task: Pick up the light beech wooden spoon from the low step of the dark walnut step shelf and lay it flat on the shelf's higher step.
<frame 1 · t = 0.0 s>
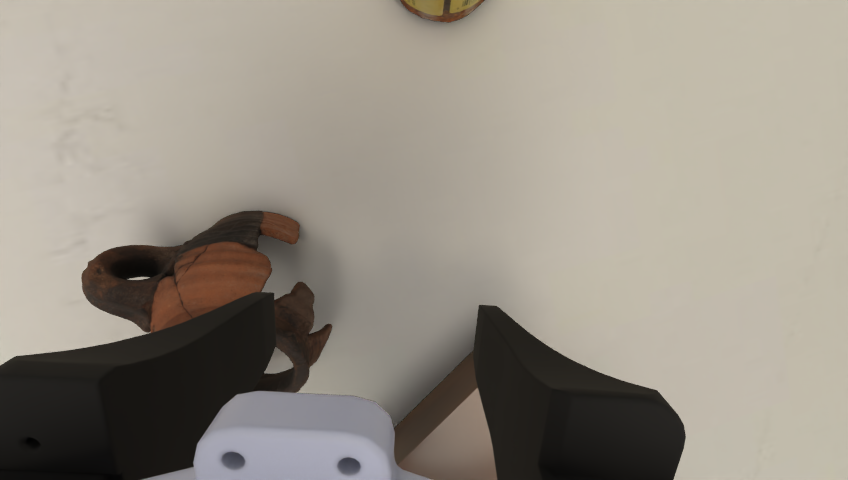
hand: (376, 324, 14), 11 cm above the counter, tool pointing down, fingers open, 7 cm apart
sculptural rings: (246, 285, 25), on the counter
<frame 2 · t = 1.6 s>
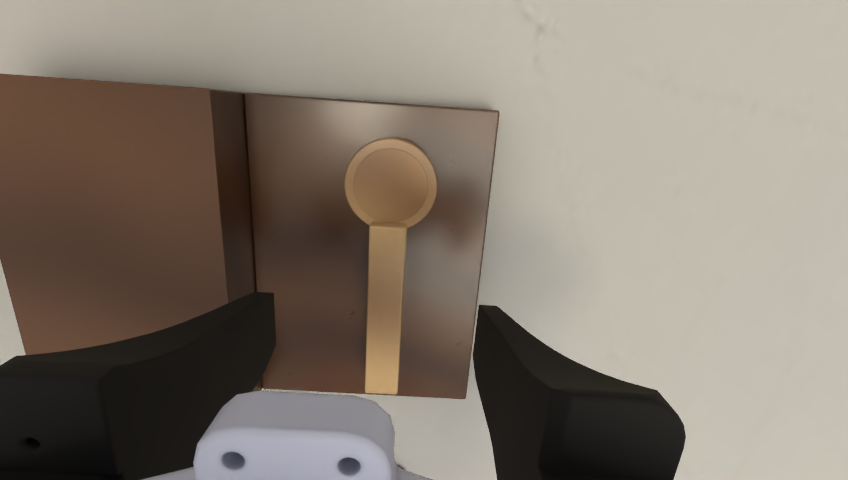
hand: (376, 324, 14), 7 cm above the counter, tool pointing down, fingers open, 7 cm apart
spoon: (388, 275, 20), point 1 cm above the counter, touching step shelf
step shelf: (282, 251, 20), on the counter
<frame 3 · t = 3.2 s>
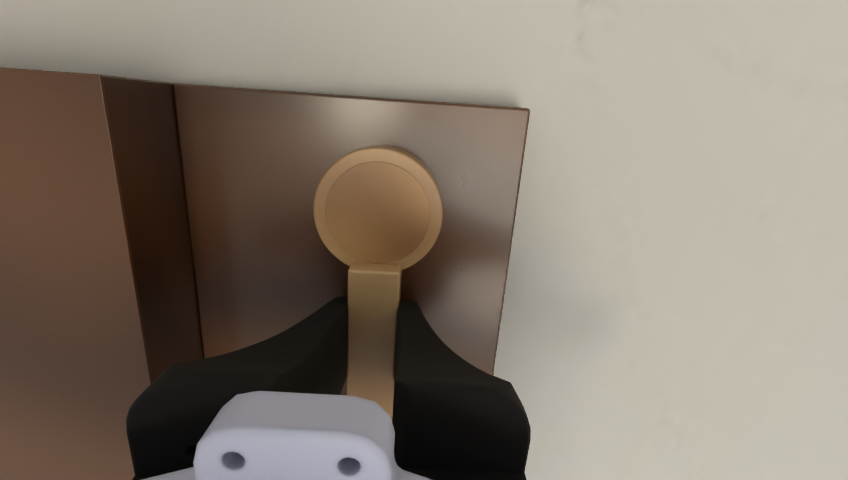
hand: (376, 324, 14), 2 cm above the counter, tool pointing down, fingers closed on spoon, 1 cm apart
spoon: (377, 328, 15), point 1 cm above the counter, touching gripper, step shelf
step shelf: (239, 293, 16), on the counter
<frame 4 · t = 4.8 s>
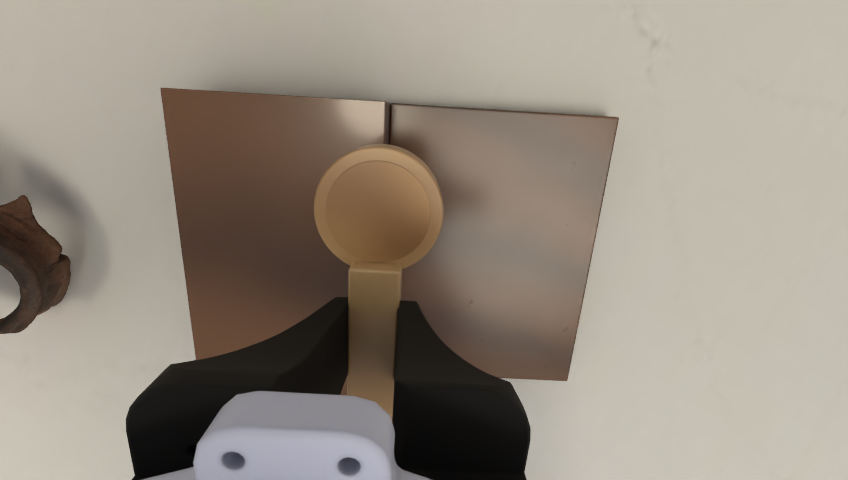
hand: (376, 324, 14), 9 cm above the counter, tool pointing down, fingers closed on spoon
spoon: (377, 327, 15), point 8 cm above the counter, touching gripper
step shelf: (405, 246, 22), on the counter
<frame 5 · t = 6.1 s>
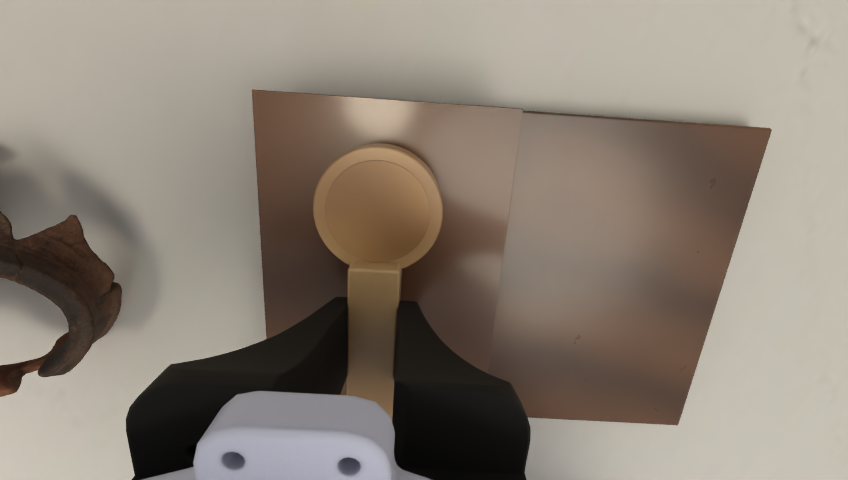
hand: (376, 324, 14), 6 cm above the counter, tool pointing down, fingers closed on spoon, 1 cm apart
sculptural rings: (25, 251, 19), on the counter
spoon: (377, 327, 15), point 5 cm above the counter, touching gripper
step shelf: (501, 272, 20), on the counter
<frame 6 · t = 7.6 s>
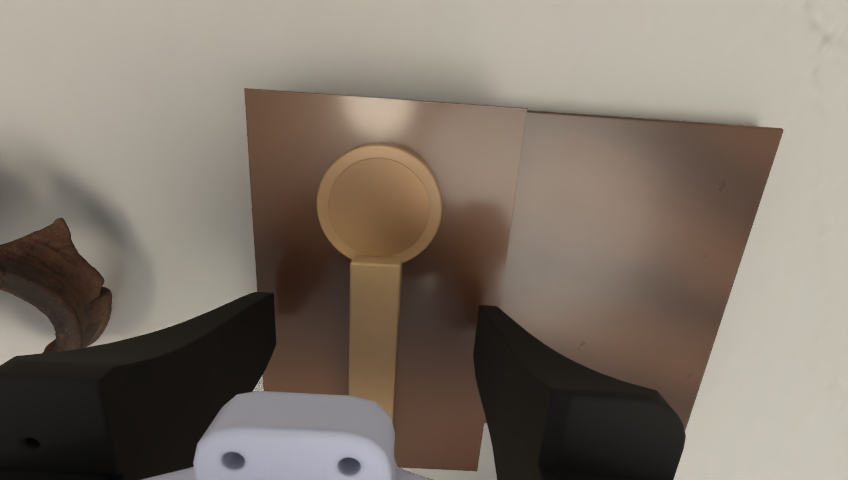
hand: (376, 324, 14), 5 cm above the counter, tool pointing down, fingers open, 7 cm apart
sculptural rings: (13, 255, 19), on the counter
spoon: (378, 320, 15), point 4 cm above the counter, touching step shelf
step shelf: (504, 276, 19), on the counter
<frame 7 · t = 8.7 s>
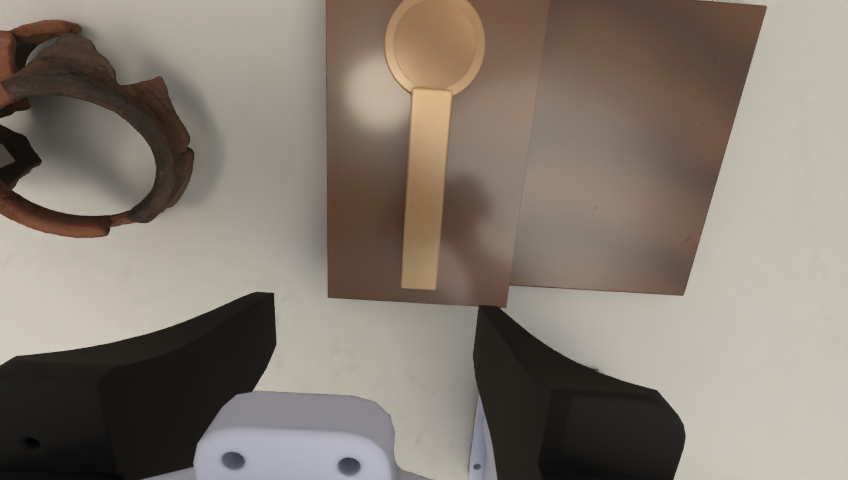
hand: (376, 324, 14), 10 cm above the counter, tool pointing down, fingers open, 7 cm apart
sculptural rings: (103, 131, 22), on the counter
spoon: (426, 161, 18), point 4 cm above the counter, touching step shelf
step shelf: (527, 151, 22), on the counter
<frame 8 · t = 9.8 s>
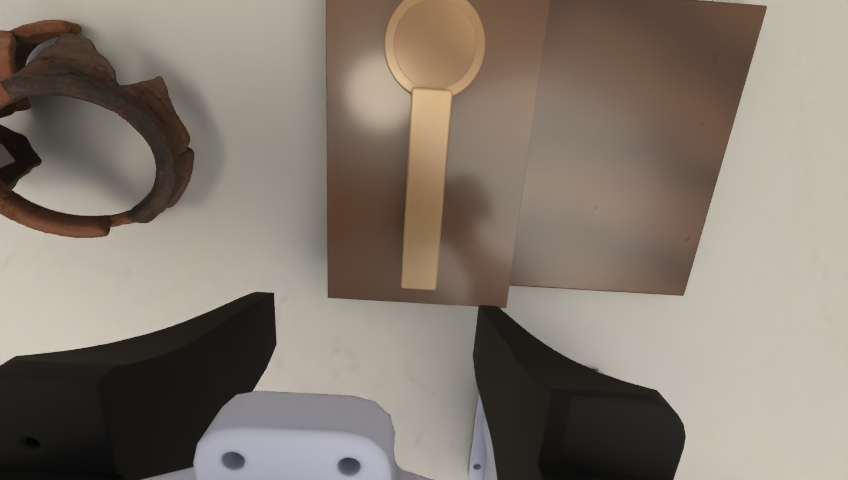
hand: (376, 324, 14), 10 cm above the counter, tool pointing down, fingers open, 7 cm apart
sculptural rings: (103, 131, 22), on the counter
spoon: (426, 161, 18), point 4 cm above the counter, touching step shelf
step shelf: (527, 151, 22), on the counter
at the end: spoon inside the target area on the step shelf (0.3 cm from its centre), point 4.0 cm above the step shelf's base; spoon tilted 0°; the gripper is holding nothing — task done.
